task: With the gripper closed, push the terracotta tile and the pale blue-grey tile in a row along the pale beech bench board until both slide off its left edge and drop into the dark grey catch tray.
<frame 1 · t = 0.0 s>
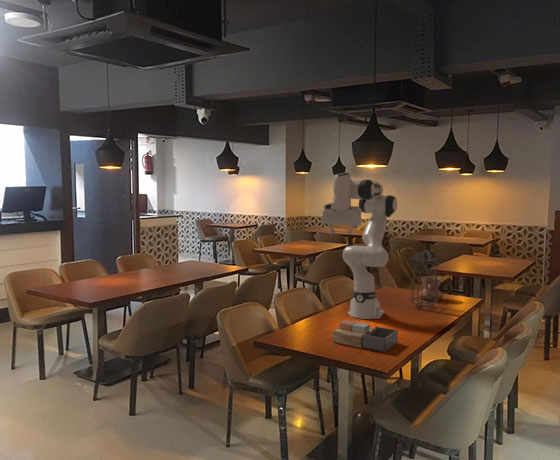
hand: (341, 233, 242), 48 cm above the table, fingers open, 8 cm apart
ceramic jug: (430, 299, 315), on the table
bench board: (353, 340, 227), on the table
geometric lantern: (424, 307, 294), on the table
blue-grey tile: (360, 331, 225), point 5 cm above the table, touching bench board
catch tray: (379, 345, 221), on the table
terracotta tile: (347, 328, 229), point 5 cm above the table, touching bench board
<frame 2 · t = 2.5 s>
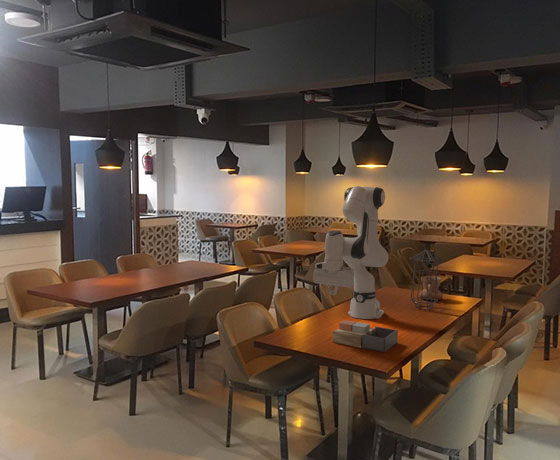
hand: (333, 294, 232), 20 cm above the table, fingers closed
nothing on the table moved.
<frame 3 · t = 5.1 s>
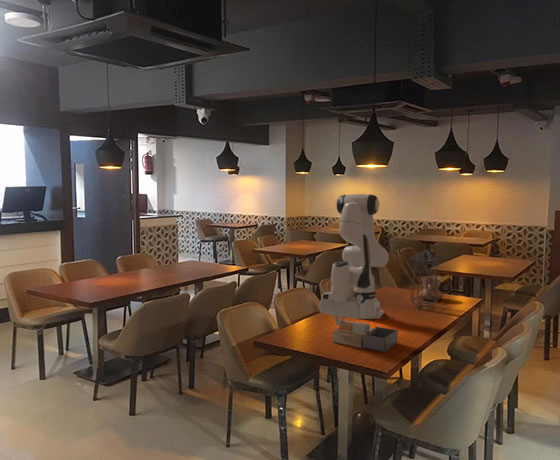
hand: (339, 324, 231), 6 cm above the table, fingers closed
terracotta tile: (348, 328, 229), point 5 cm above the table, touching bench board, gripper
everything else where it was.
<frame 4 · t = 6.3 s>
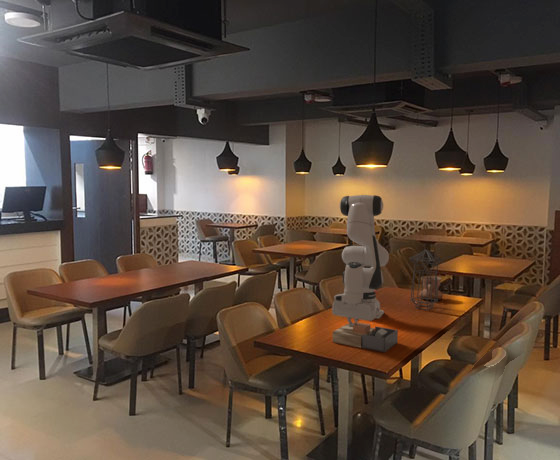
hand: (352, 327, 227), 6 cm above the table, fingers closed
blue-grey tile: (376, 335, 221), point 4 cm above the table, tilted 115°, touching catch tray
terracotta tile: (361, 331, 225), point 5 cm above the table, touching bench board, gripper
everything else where it was.
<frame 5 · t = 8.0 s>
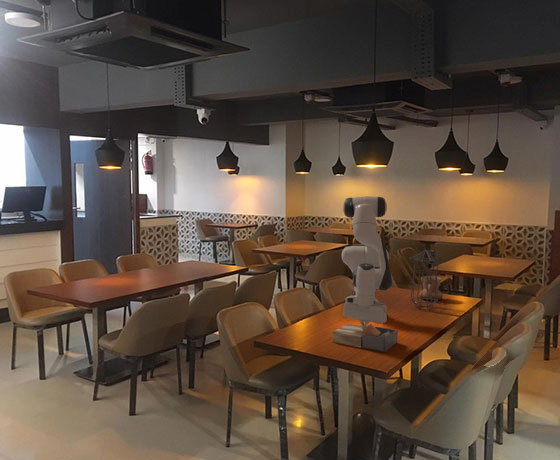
hand: (364, 329, 224), 6 cm above the table, fingers closed, pressing on terracotta tile
blue-grey tile: (381, 335, 220), point 5 cm above the table, tilted 145°, touching catch tray, terracotta tile
terracotta tile: (369, 334, 222), point 4 cm above the table, tilted 33°, touching bench board, blue-grey tile, gripper
everything else where it was.
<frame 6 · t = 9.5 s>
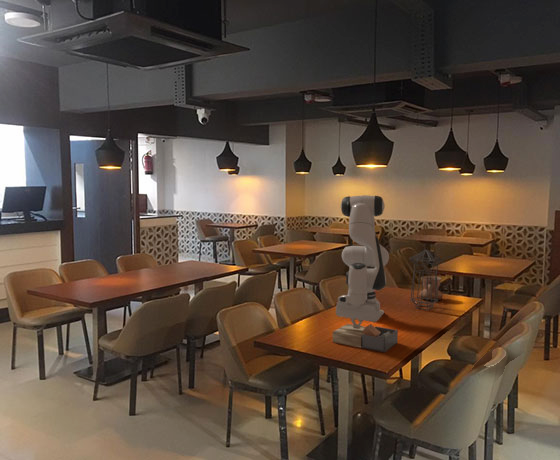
hand: (356, 328, 227), 6 cm above the table, fingers closed
terracotta tile: (369, 334, 222), point 4 cm above the table, tilted 33°, touching bench board, blue-grey tile
everything else where it was.
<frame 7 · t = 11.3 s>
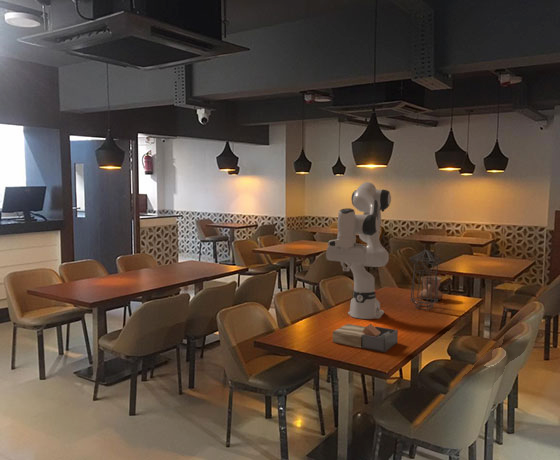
hand: (346, 270, 237), 31 cm above the table, fingers closed
nothing on the table moved.
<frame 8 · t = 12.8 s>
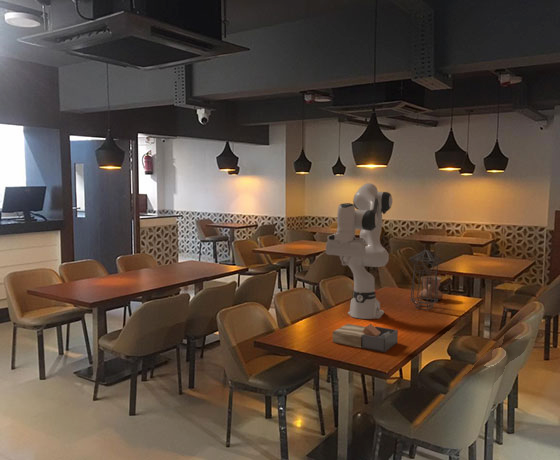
hand: (345, 265, 238), 33 cm above the table, fingers closed
nothing on the table moved.
at the end: terracotta tile inside the target area on the catch tray (4.7 cm from its centre), point 4.3 cm above the catch tray's base; blue-grey tile inside the target area on the catch tray (0.6 cm from its centre), point 4.7 cm above the catch tray's base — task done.
